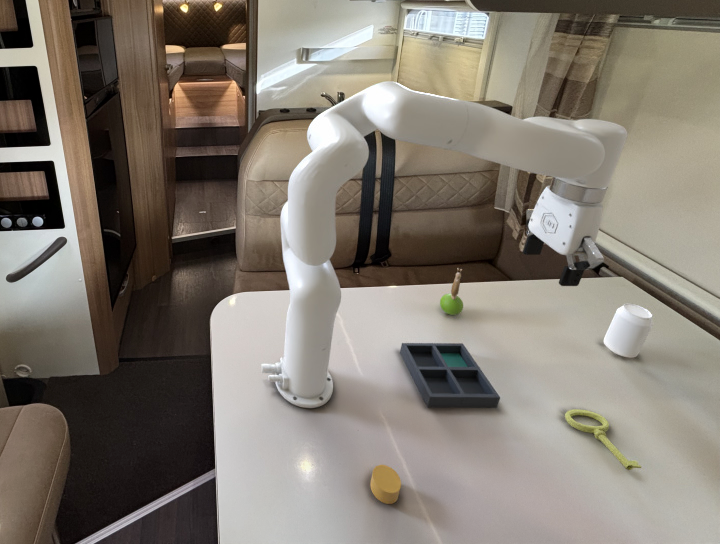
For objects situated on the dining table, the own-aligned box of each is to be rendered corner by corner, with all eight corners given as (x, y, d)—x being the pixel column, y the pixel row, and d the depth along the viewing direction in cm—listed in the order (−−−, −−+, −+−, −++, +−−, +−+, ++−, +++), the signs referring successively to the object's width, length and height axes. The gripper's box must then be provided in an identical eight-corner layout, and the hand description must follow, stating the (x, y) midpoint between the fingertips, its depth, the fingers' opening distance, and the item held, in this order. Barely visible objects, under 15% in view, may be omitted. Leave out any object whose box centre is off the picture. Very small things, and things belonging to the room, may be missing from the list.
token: (375, 503, 72) (378, 492, 71) (366, 475, 77) (368, 464, 75) (402, 504, 72) (405, 493, 71) (392, 475, 77) (394, 464, 75)
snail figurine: (461, 307, 116) (471, 271, 112) (460, 322, 111) (470, 285, 107) (439, 300, 119) (448, 265, 114) (437, 314, 114) (446, 277, 109)
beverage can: (642, 355, 101) (662, 315, 96) (627, 363, 99) (646, 323, 94) (611, 336, 106) (629, 298, 102) (596, 344, 104) (613, 305, 100)
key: (628, 477, 76) (632, 469, 75) (558, 415, 87) (561, 408, 86) (656, 465, 78) (660, 458, 77) (584, 407, 89) (588, 399, 88)
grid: (427, 407, 89) (430, 396, 88) (399, 352, 102) (401, 342, 101) (496, 408, 89) (500, 397, 87) (459, 353, 102) (462, 343, 101)
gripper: (522, 169, 83) (500, 243, 90) (596, 213, 67) (562, 299, 74) (561, 169, 83) (536, 243, 90) (643, 213, 67) (606, 299, 74)
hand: (548, 268), depth 82 cm, fingers open, 9 cm apart
